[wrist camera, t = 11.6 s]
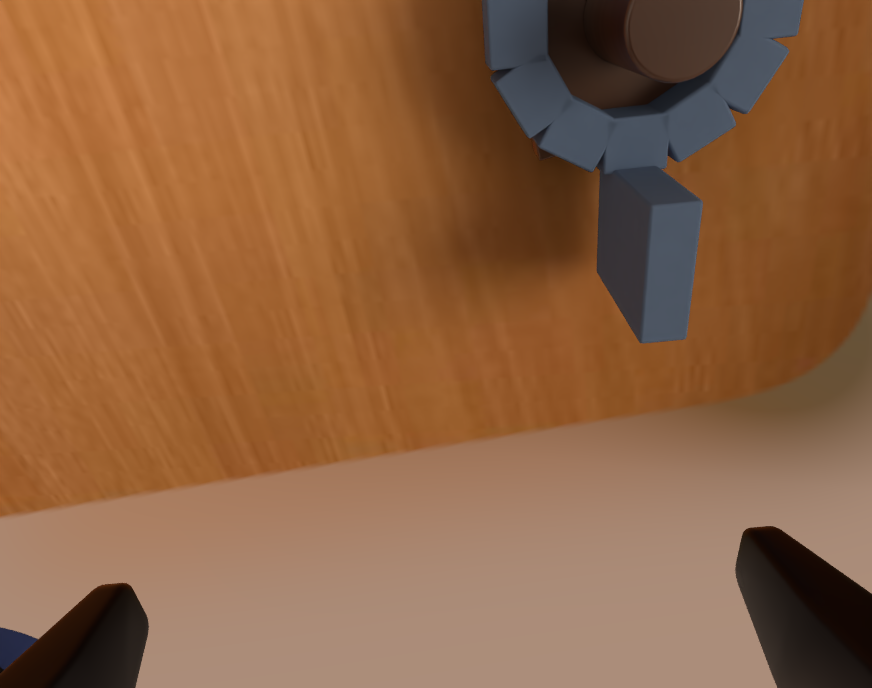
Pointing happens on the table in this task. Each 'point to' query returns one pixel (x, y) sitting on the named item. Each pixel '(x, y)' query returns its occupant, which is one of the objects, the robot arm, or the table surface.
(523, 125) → the ring
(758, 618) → the robot arm
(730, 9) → the peg stand
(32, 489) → the table surface
